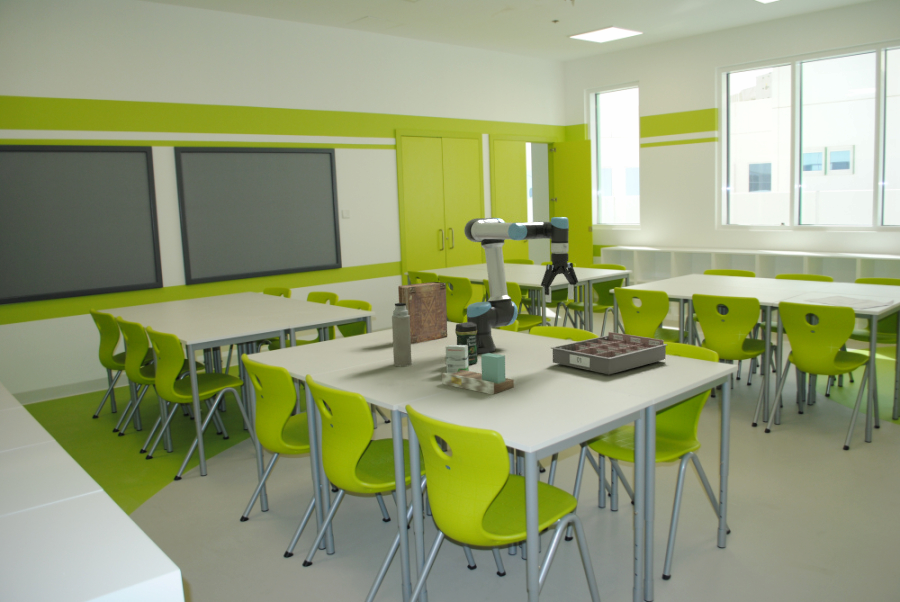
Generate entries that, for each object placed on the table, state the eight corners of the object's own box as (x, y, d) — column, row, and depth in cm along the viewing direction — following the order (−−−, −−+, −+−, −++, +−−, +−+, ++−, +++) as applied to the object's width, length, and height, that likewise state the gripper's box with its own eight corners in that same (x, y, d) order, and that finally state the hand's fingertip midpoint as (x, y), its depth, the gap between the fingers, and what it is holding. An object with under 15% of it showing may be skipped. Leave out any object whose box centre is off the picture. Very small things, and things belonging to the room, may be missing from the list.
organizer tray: (550, 365, 289) (549, 343, 288) (608, 351, 313) (608, 331, 312) (609, 378, 264) (609, 354, 263) (667, 362, 288) (668, 340, 287)
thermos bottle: (399, 362, 304) (396, 301, 300) (414, 363, 301) (412, 302, 297) (390, 365, 297) (388, 304, 293) (406, 367, 294) (403, 304, 290)
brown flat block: (441, 383, 263) (441, 373, 262) (463, 377, 272) (463, 366, 272) (492, 394, 245) (491, 383, 244) (513, 387, 254) (513, 376, 254)
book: (410, 344, 346) (408, 287, 342) (400, 341, 353) (397, 286, 349) (447, 337, 362) (445, 282, 358) (436, 335, 369) (435, 281, 365)
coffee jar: (462, 366, 292) (461, 324, 289) (453, 363, 298) (451, 322, 296) (480, 363, 297) (479, 322, 294) (470, 360, 303) (469, 320, 301)
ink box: (469, 372, 281) (468, 344, 279) (465, 375, 276) (464, 347, 275) (449, 371, 284) (449, 344, 282) (446, 373, 279) (445, 346, 277)
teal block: (481, 380, 254) (481, 354, 253) (489, 378, 258) (488, 352, 256) (498, 383, 249) (497, 357, 248) (505, 381, 252) (504, 355, 251)
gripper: (544, 254, 280) (544, 304, 283) (586, 251, 294) (585, 298, 297) (532, 254, 286) (532, 302, 289) (574, 250, 300) (573, 297, 303)
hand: (559, 300), depth 293 cm, fingers open, 13 cm apart
